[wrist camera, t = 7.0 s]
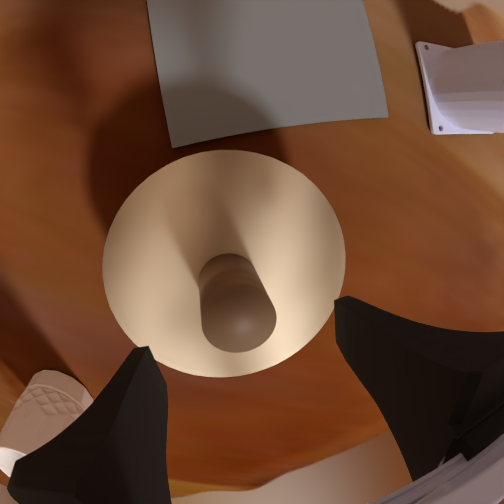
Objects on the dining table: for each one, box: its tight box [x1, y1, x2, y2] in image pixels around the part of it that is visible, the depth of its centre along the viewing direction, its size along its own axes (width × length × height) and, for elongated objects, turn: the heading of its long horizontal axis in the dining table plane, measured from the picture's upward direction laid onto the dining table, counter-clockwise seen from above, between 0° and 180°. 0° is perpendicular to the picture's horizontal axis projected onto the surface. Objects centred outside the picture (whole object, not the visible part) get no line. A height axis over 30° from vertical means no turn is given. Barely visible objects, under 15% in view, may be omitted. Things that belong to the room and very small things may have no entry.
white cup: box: [0, 370, 93, 477], centre depth 18 cm, size 8×8×10 cm
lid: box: [103, 150, 345, 377], centre depth 14 cm, size 13×13×5 cm
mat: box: [147, 0, 388, 148], centre depth 16 cm, size 15×15×1 cm
